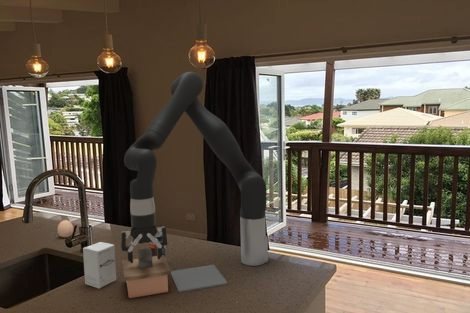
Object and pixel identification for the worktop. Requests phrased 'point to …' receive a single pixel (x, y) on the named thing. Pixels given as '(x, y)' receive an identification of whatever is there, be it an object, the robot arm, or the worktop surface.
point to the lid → (145, 266)
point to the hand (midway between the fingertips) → (145, 260)
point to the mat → (197, 278)
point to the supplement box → (99, 264)
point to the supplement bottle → (154, 247)
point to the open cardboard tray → (147, 286)
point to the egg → (65, 228)
